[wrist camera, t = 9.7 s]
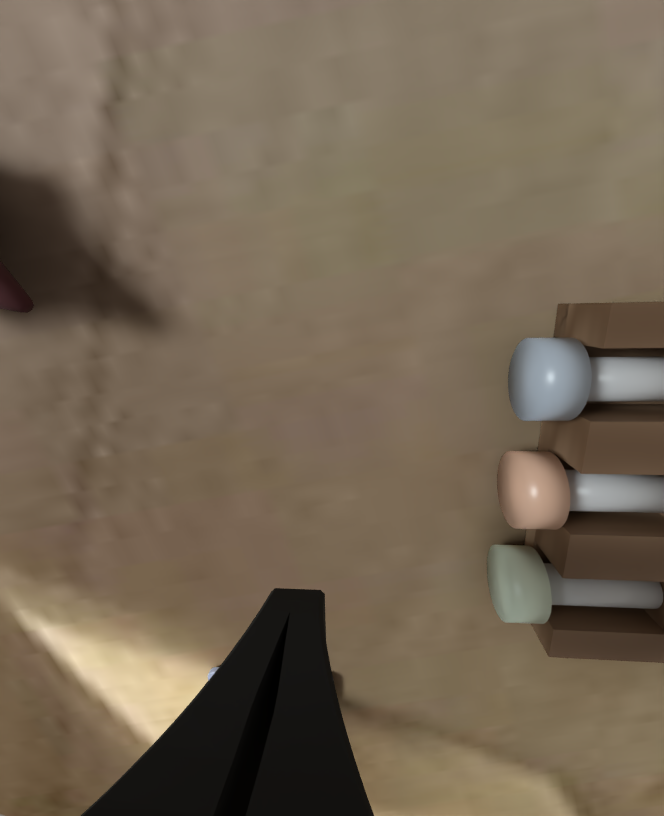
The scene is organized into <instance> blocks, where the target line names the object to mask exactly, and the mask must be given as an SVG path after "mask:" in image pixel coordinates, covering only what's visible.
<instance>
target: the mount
mask: <svg viewBox="0 0 664 816" xmlns="http://www.w3.org/2000/svg"><path fill="white" fill-rule="evenodd" d="M565 337H571V338H575V339H577V340H579V341H580V342H581V343H582V344H583V345H584V347H585V349H586V351H587V353H588V356H589V357H664V302H631V303H580V304H558V309H557V316H556V323H555V330H554V338H565ZM538 451H547V452H551V453H553V454H554V455H555V456H556V457H557V458H558V459H559V460H560V462H561V463H562V465H563V467H564V469H567V470H577V471H578V472H580V473H581V474H625V475H664V401H587V402H586V405H585V407H584V408H583V410H582V411H581V413H580V414H579V415H578V416H577V417H576V418H574V419H572V420H569V421H542V423H541V430H540V437H539V444H538ZM524 545H526V546H531V547H533V548H534V549H535V550H536V551H537V553H538V554H539V555H540V557H541V559H542V561H543V563H549V564H552V565H553V566H554V567H555V569H556V570H557V571H558V573H559V574H560V575H561V577H562V578H565V579H594V580H623V581H652V582H660V584H661V587H662V591H663V602H662V605H661V606H660V607H659V608H657V609H645V608H620V607H595V606H570V605H552V607H551V614H550V617H549V619H548V621H547V622H546V623H544V624H532V623H531V625H532V627H533V629H534V631H535V632H536V634H537V636H538V638H539V640H540V642H541V643H542V645H543V647H544V649H545V651H546V653H547V655H548V656H549V657H559V658H579V659H599V660H618V661H638V662H658V663H664V513H644V512H597V511H569V515H568V518H567V520H566V522H565V524H564V525H563V526H562V527H561V528H559V529H556V530H550V529H527V530H526V537H525V544H524Z"/></svg>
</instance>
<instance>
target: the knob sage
mask: <svg viewBox="0 0 664 816" xmlns="http://www.w3.org/2000/svg"><path fill="white" fill-rule="evenodd" d="M487 578H488V585H489V591H490V595H491V599H492V602H493V605H494V608H495V610H496V612H497V614H498V616H499V617H500V619H501V620H502V621H504V622H510V623H532V624H544V623H546V622H547V621H548V619H549V617H550V614H551V607H552V605H570V606H595V607H620V608H645V609H657V608H659V607H660V606H661V605H662V602H663V591H662V587H661V584H660V582H652V581H623V580H594V579H565V578H562V577H561V575H560V574H559V573H558V571H557V570H556V569H555V567H554V566H553V565H552V564H549V563H543V561H542V559H541V557H540V555H539V554H538V553H537V551H536V550H535V549H534V548H533V547H531V546H526V545H492V546H491V547H490V549H489V552H488V557H487Z"/></svg>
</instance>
